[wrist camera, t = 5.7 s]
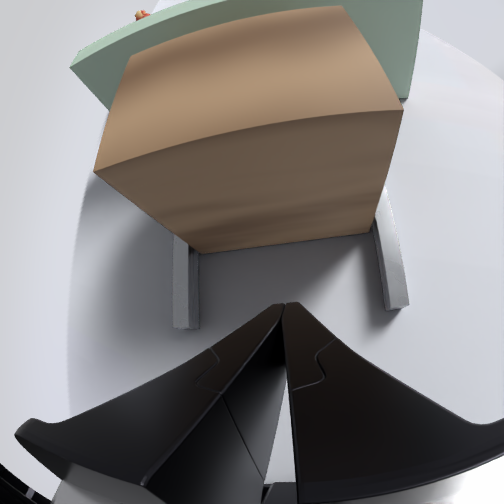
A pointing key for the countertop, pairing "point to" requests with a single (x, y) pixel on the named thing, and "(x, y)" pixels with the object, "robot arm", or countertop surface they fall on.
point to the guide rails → (387, 252)
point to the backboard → (244, 6)
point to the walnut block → (255, 131)
